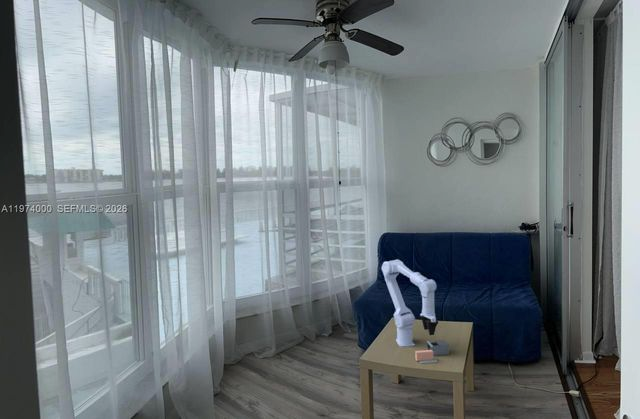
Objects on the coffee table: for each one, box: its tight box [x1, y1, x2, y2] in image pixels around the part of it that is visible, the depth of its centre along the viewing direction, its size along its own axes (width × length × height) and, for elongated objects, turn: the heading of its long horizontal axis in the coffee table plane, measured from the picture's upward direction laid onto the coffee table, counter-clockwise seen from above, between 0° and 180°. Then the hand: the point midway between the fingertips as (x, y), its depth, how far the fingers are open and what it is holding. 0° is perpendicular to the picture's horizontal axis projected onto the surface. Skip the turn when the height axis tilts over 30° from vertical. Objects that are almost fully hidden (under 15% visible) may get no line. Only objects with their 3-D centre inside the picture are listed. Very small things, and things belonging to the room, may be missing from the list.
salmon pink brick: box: [414, 349, 434, 362], centre depth 202 cm, size 2×8×4 cm, turn 95°
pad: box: [419, 356, 439, 365], centre depth 202 cm, size 7×8×1 cm
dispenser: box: [426, 339, 450, 357], centre depth 209 cm, size 6×9×5 cm, turn 95°
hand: (429, 332), depth 210 cm, fingers open, 7 cm apart
